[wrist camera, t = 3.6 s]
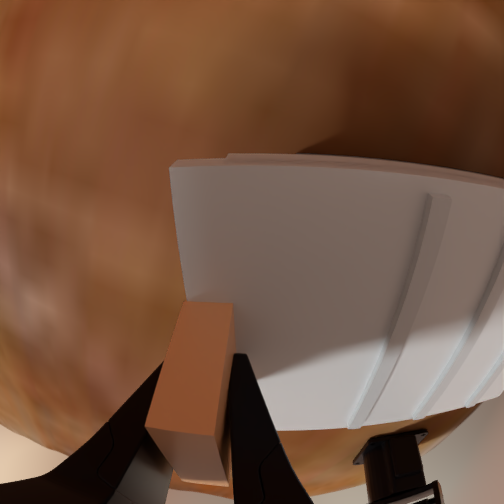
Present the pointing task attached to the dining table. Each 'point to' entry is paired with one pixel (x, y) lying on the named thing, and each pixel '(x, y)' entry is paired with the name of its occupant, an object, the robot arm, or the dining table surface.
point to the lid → (328, 297)
